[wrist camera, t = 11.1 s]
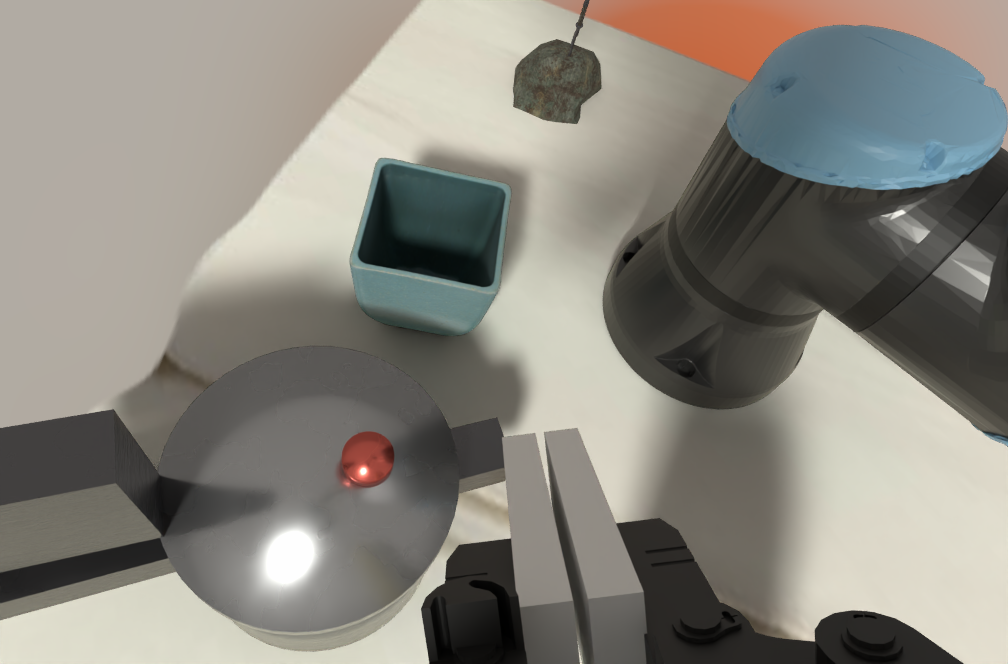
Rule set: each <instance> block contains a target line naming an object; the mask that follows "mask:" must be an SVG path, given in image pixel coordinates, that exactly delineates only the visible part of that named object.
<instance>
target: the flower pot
mask: <svg viewBox="0 0 1008 664" xmlns="http://www.w3.org/2000/svg"><path fill="white" fill-rule="evenodd" d="M511 195H512V191H511V187H510V186H509V185H508V184H506V183H502V182H498V181H493V180H489V179H483V178H479V177H474V176H469V175H464V174H460V173H455V172H450V171H446V170H441V169H437V168H432V167H427V166H423V165H419V164H413V163H409V162H405V161H401V160H396V159H390V158H380V159H379V160H378V161H377V162H376V164H375V168H374V172H373V176H372V180H371V184H370V188H369V191H368V196H367V199H366V203H365V206H364V211H363V214H362V217H361V221H360V224H359V228H358V231H357V235H356V238H355V242H354V245H353V249H352V252H351V255H350V267H351V273H352V278H353V283H354V288H355V293H356V297H357V301H358V303H359V305H360V307H361V308H362V310H363V311H364V312H365V313H366V314H367V315H368V316H370V317H371V318H373V319H374V320H376V321H379V322H381V323H383V324H387V325H392V326H397V327H403V328H408V329H414V330H419V331H424V332H429V333H434V334H440V335H445V336H456V335H462V334H465V333H468V332H470V331H471V330H473V329H474V328H475V327H476V326H477V325H478V324H479V323H480V321H481V320H482V318H483V317H484V315H485V313H486V312H487V310H488V308H489V307H490V305H491V303H492V301H493V300H494V298H495V296H496V294H497V293H498V291H499V288H500V283H501V272H502V263H503V254H504V245H505V238H506V229H507V221H508V214H509V207H510V202H511Z"/></svg>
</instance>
